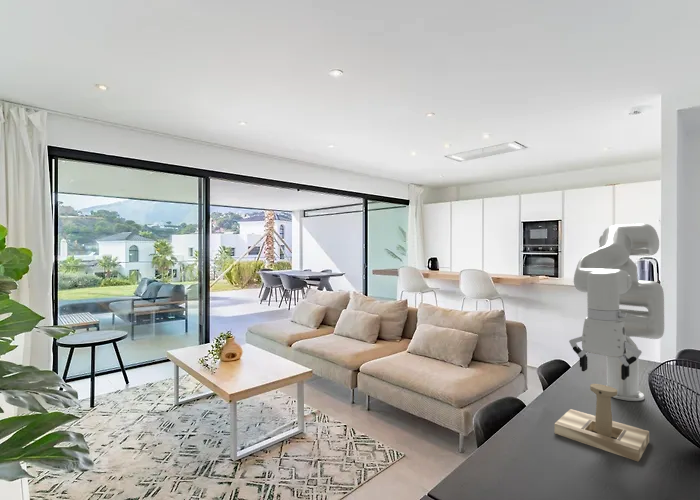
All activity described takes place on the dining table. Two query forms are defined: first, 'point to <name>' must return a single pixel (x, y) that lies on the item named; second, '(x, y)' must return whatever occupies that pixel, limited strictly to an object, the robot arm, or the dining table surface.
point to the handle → (603, 408)
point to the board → (582, 425)
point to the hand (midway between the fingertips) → (603, 374)
